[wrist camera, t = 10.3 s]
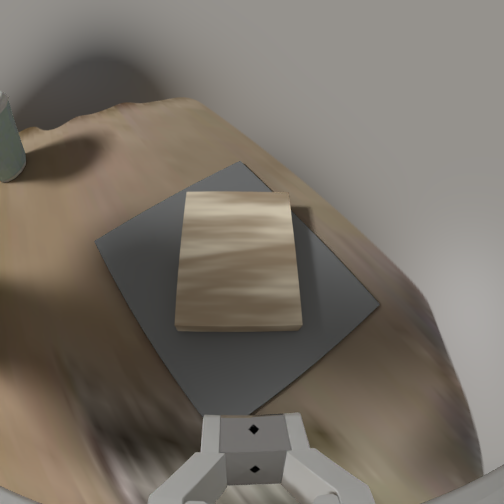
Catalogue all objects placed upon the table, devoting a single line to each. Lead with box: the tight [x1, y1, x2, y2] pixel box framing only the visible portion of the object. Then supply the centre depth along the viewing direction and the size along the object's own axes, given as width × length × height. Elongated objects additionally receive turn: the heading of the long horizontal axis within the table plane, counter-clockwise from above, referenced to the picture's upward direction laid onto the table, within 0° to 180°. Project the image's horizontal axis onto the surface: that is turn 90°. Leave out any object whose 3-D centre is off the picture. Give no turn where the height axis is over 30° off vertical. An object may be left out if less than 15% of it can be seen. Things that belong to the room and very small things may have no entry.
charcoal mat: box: [95, 161, 380, 417], centre depth 35 cm, size 22×26×1 cm
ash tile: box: [175, 191, 303, 332], centre depth 34 cm, size 2×12×16 cm
